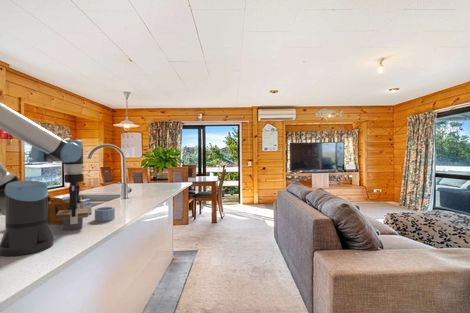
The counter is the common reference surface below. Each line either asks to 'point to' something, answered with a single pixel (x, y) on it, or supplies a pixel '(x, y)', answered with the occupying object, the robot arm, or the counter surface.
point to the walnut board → (66, 214)
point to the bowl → (104, 214)
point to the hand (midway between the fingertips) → (75, 220)
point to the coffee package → (56, 209)
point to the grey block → (72, 226)
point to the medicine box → (86, 204)
